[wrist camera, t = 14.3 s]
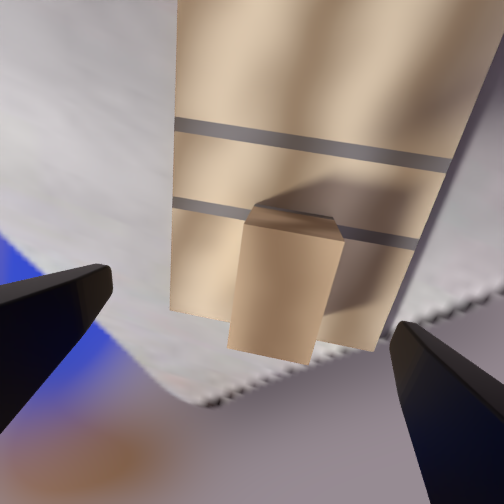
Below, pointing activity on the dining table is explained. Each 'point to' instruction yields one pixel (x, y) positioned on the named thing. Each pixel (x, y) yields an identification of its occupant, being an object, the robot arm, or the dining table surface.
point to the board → (319, 136)
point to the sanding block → (283, 282)
